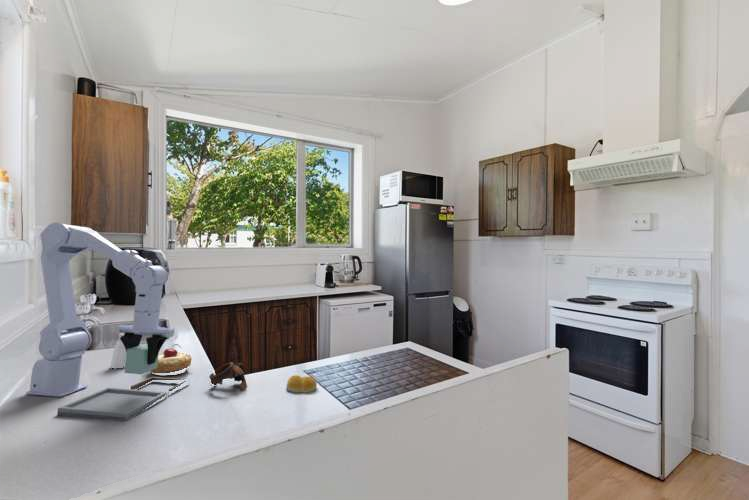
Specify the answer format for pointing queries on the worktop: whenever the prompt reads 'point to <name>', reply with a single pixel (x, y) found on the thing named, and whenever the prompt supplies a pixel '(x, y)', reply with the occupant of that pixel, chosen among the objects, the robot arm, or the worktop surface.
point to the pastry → (172, 361)
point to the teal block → (138, 360)
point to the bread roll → (301, 384)
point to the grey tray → (111, 404)
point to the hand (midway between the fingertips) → (141, 362)
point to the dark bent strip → (155, 379)
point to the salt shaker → (119, 354)
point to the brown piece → (229, 374)
